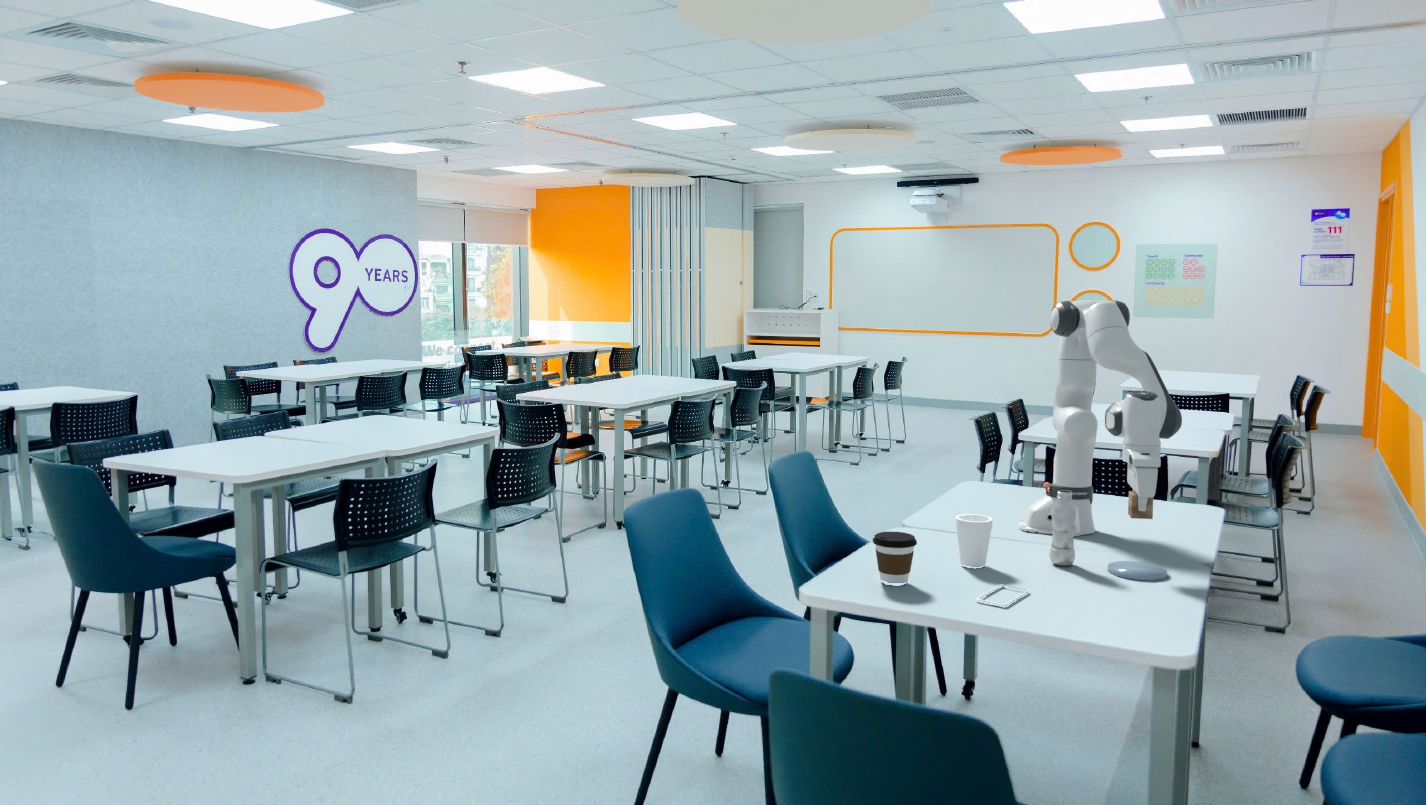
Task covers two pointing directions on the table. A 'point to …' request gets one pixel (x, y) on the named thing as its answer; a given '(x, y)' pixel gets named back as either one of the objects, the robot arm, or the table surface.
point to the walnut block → (1133, 507)
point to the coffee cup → (894, 555)
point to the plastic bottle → (1063, 529)
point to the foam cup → (973, 538)
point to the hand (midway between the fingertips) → (1139, 507)
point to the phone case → (1008, 602)
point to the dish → (1137, 570)
